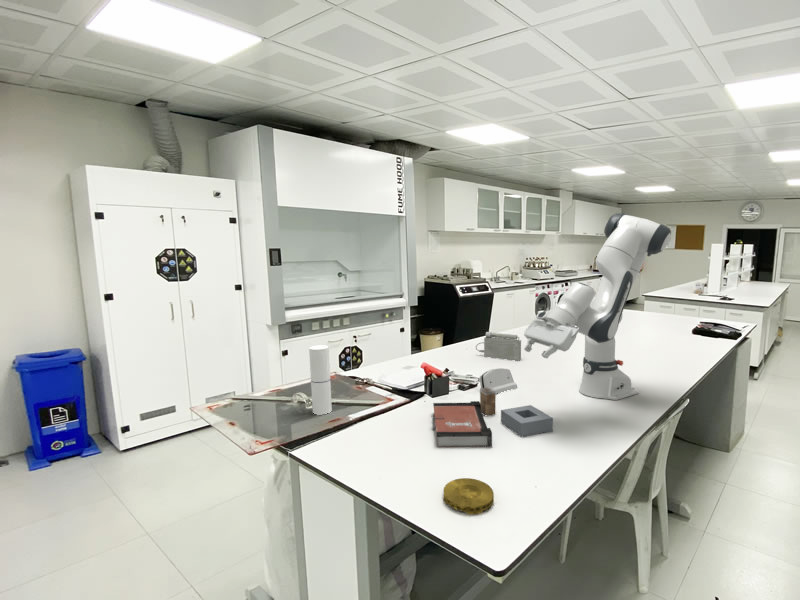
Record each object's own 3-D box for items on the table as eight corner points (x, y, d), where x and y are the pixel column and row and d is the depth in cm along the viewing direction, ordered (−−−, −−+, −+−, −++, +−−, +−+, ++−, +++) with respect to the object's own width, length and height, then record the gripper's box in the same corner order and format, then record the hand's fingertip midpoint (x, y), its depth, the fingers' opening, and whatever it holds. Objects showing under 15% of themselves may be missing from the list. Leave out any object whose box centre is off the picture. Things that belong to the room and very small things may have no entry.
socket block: (530, 417, 149) (530, 405, 149) (552, 430, 138) (552, 417, 138) (500, 422, 146) (501, 409, 145) (521, 436, 134) (521, 423, 134)
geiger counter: (522, 333, 223) (477, 330, 236) (518, 336, 218) (473, 332, 231) (522, 359, 225) (477, 354, 238) (518, 362, 219) (473, 356, 233)
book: (431, 414, 155) (431, 401, 155) (479, 414, 154) (479, 401, 154) (434, 448, 129) (434, 433, 129) (491, 448, 128) (491, 432, 128)
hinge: (489, 396, 171) (483, 371, 173) (482, 396, 175) (476, 372, 177) (518, 388, 180) (512, 364, 182) (510, 388, 184) (504, 366, 186)
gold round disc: (476, 522, 94) (476, 513, 94) (433, 502, 102) (433, 493, 102) (502, 497, 103) (502, 489, 103) (461, 480, 111) (461, 473, 111)
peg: (489, 410, 157) (489, 386, 156) (495, 414, 153) (495, 390, 152) (480, 411, 156) (480, 388, 154) (485, 415, 152) (485, 391, 151)
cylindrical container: (315, 416, 155) (312, 350, 152) (310, 410, 161) (306, 346, 158) (334, 413, 158) (331, 347, 155) (328, 406, 164) (325, 344, 161)
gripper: (587, 333, 133) (561, 367, 132) (545, 323, 153) (522, 352, 151) (575, 320, 132) (549, 354, 130) (535, 312, 151) (511, 342, 149)
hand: (534, 353), depth 140 cm, fingers open, 8 cm apart
